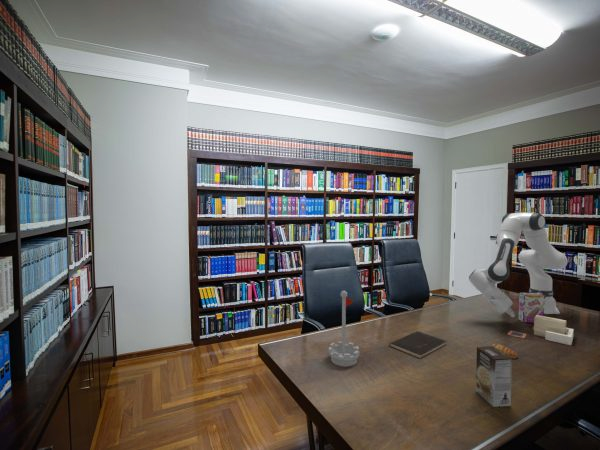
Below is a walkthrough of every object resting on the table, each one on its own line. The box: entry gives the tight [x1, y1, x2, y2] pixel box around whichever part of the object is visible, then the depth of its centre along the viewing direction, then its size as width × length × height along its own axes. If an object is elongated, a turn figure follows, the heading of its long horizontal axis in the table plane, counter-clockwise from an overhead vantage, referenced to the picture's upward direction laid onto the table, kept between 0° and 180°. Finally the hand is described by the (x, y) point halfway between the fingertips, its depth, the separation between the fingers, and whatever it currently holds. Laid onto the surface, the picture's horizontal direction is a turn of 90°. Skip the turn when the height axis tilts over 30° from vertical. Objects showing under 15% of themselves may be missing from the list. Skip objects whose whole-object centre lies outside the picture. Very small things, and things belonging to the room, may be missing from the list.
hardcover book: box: [389, 330, 448, 359], centre depth 143 cm, size 16×23×2 cm
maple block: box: [533, 315, 567, 338], centre depth 153 cm, size 6×12×9 cm, turn 45°
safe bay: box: [544, 327, 575, 346], centre depth 150 cm, size 14×10×4 cm
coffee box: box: [475, 345, 513, 408], centre depth 101 cm, size 9×6×16 cm
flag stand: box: [328, 290, 360, 367], centre depth 128 cm, size 13×13×30 cm
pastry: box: [492, 343, 518, 360], centre depth 133 cm, size 9×7×4 cm
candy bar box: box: [517, 292, 545, 324], centre depth 173 cm, size 11×5×16 cm, turn 84°
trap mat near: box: [507, 330, 527, 339], centre depth 155 cm, size 7×7×1 cm
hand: (514, 316), depth 164 cm, fingers closed
